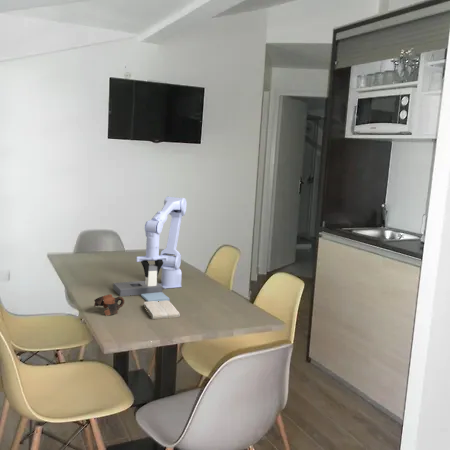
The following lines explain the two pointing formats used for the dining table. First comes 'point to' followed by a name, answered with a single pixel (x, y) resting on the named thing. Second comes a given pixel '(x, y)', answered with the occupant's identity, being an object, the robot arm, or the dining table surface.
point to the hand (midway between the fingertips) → (151, 276)
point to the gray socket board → (135, 288)
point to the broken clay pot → (109, 303)
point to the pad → (155, 297)
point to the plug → (151, 276)
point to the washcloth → (161, 309)
